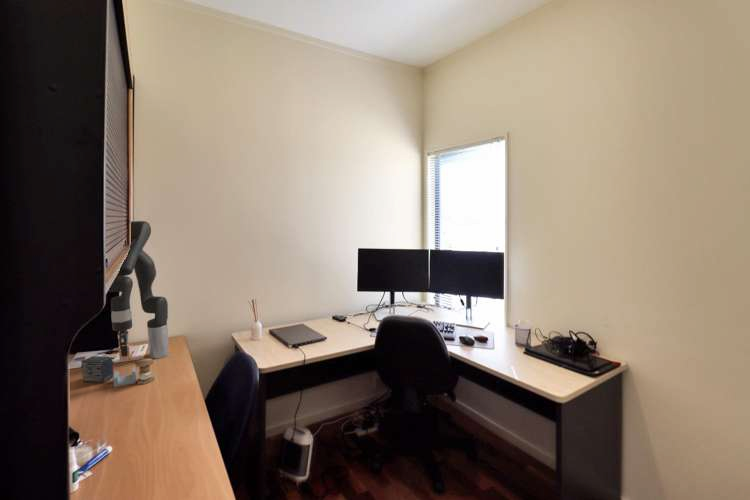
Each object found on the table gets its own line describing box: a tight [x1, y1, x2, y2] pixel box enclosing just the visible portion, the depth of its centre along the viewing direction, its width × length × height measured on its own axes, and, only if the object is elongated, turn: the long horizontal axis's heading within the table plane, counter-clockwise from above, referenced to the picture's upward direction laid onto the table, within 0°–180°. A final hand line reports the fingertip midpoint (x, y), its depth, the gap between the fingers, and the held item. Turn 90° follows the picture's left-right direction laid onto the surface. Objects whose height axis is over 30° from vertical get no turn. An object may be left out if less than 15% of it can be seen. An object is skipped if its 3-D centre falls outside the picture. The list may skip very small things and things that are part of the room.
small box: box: [81, 355, 114, 384], centre depth 170 cm, size 11×6×10 cm, turn 84°
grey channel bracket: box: [112, 366, 137, 388], centre depth 168 cm, size 8×8×4 cm
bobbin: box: [135, 357, 155, 385], centre depth 169 cm, size 7×7×10 cm
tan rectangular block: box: [118, 343, 131, 361], centre depth 167 cm, size 3×4×6 cm
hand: (124, 354), depth 167 cm, fingers closed on tan rectangular block, 2 cm apart
